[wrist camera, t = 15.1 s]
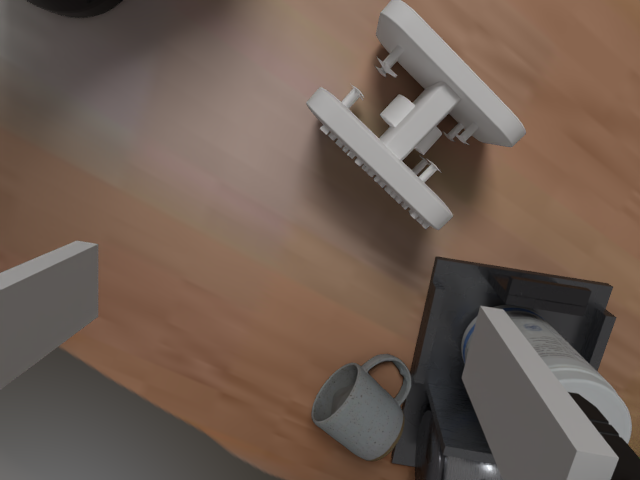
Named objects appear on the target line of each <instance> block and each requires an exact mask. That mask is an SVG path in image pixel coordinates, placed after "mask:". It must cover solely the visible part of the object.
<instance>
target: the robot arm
mask: <svg viewBox="0 0 640 480" xmlns="http://www.w3.org/2000/svg"><path fill="white" fill-rule="evenodd" d="M27 1H28V2H30V3H32V4H34V5H36V6H38V7H40V8H42V9H45V10H48V11H51V12H53V13H56V14H59V15H63V16H67V17H75V18H83V17H91V16H95V15H99V14H102V13H104V12H106V11H108V10H110V9H112V8H113V7H115V6H116V5H117V4H119V3H120V2H121V1H122V0H27ZM97 317H98V244H95V243H88V242H82V241H75V242H72V243H70V244H68V245H65V246H63V247H61V248H58V249H56V250H53V251H51V252H49V253H46V254H44V255H42V256H39V257H37V258H34V259H32V260H30V261H27V262H25V263H23V264H20V265H18V266H16V267H13V268H11V269H8V270H6V271H4V272H1V273H0V390H1V389H2V388H3V387H5V386H6V385H7V384H9V383H10V382H11V381H13V380H14V379H15V378H17V377H18V376H19V375H21V374H22V373H23V372H25V371H26V370H27V369H29V368H30V367H31V366H33V365H34V364H35V363H37V362H38V361H39V360H41V359H42V358H43V357H45V356H46V355H47V354H49V353H50V352H51V351H53V350H54V349H55V348H57V347H58V346H60V345H61V344H62V343H64V342H65V341H66V340H68V339H69V338H70V337H72V336H73V335H74V334H76V333H77V332H78V331H80V330H81V329H82V328H84V327H85V326H86V325H88V324H89V323H90V322H92V321H93V320H94V319H96V318H97ZM462 380H463V383H464V385H465V388H466V390H467V393H468V395H469V398H470V400H471V403H472V405H473V408H474V410H475V412H476V415H477V417H478V420H479V422H480V425H481V427H482V430H483V432H484V435H485V437H486V440H487V442H488V445H489V447H490V449H491V452H492V454H493V457H494V459H495V462H496V464H497V467H498V469H499V472H500V474H501V477H502V479H503V480H640V458H639V457H638V456H637V455H636V454H635V452H634V451H633V450H632V449H631V448H630V447H629V445H628V444H627V443H626V442H625V441H624V439H623V438H622V437H619V433H618V432H617V431H616V430H615V429H614V427H613V426H612V425H609V421H608V420H607V419H606V418H605V417H604V415H603V414H602V413H601V412H600V411H599V410H598V408H597V407H596V406H594V405H593V404H592V403H590V402H589V401H588V400H586V399H585V398H584V397H582V396H581V395H580V394H578V393H572V392H567V391H566V389H565V388H564V387H563V385H562V384H561V383H560V382H559V380H558V379H557V378H556V376H555V375H554V374H553V373H552V371H551V370H550V369H549V367H548V366H547V365H546V364H545V362H544V361H543V360H542V358H541V357H540V356H539V355H538V353H537V352H536V351H535V349H534V348H533V347H532V346H531V344H530V343H529V342H528V340H527V339H526V338H525V337H524V335H523V334H522V333H521V331H520V330H519V329H518V328H517V326H516V325H515V324H514V322H513V321H512V320H511V319H510V317H509V316H508V315H507V313H506V312H505V311H504V310H503V309H497V308H491V307H485V306H480V309H479V312H478V316H477V320H476V324H475V328H474V332H473V336H472V339H471V343H470V347H469V351H468V355H467V359H466V363H465V366H464V370H463V374H462Z"/></svg>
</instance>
